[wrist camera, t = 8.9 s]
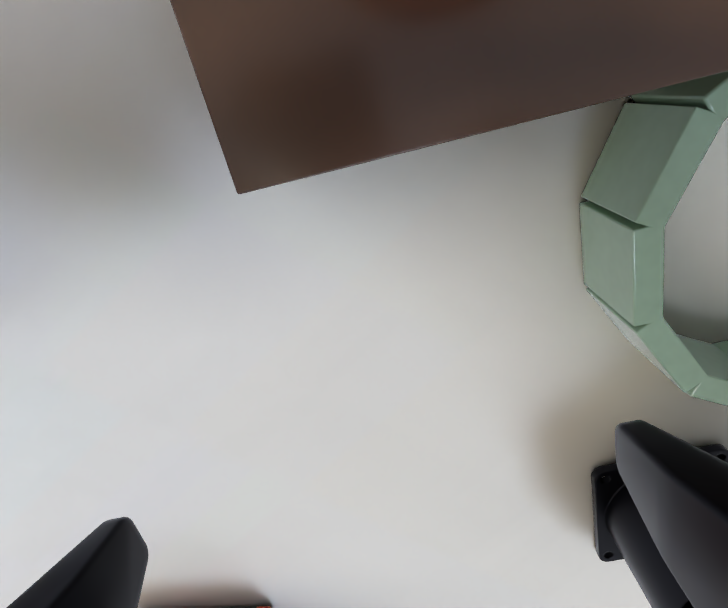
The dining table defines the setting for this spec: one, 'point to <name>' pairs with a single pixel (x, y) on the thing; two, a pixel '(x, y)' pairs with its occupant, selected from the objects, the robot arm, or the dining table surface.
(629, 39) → the shelf
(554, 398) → the dining table surface
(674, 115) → the holder
